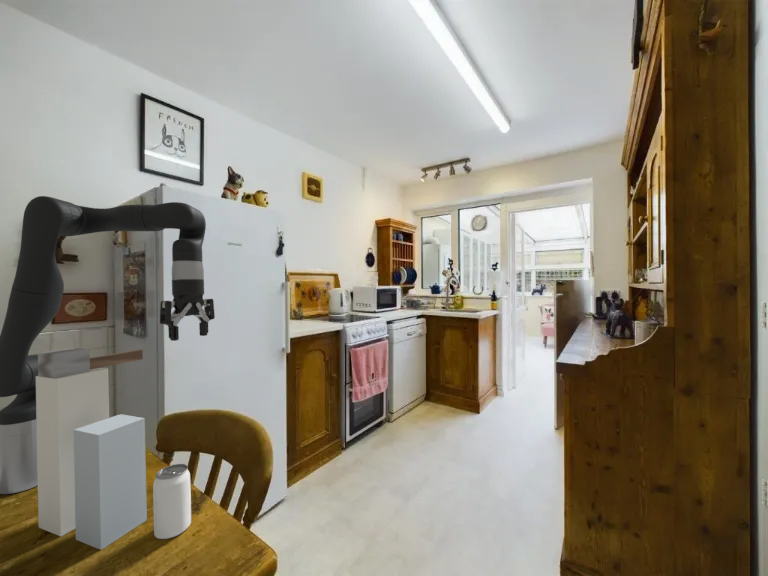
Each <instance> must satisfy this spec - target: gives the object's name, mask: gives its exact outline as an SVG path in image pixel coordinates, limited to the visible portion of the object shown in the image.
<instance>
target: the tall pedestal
mask: <svg viewBox="0 0 768 576" xmlns="http://www.w3.org/2000/svg"><path fill="white" fill-rule="evenodd" d="M109 380H110V379H109V368H106V367H101V368H96V369H91V370H90V372H85V373H80V374H75V375H70V376H65V377H61V378H56V379H54V378H46V377H38V376H36V420H37V472H38V486H37V511H38V512H37V513H38V515H37V516H38V517H37V518H38V523H37V524H38V529H42V530H44V531H46V532H49V533H52V534H54V535H56V536H59V537H63V536H65V535H66V534H68V533H70V532H72V531H73V530H76V523H75V473H74V429H77V428H80V427H83V426H86V425H89V424H92V423H95V422H98V421H101V420H104V419H107V418H110V391H109V389H110V388H109V387H110V386H109V385H110V383H109Z"/></svg>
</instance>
